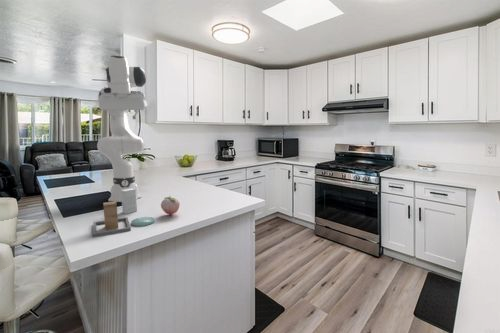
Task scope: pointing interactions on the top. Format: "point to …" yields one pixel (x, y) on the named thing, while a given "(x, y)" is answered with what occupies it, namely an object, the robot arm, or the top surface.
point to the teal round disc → (142, 221)
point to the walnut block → (110, 215)
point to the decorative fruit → (170, 205)
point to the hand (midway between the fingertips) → (124, 119)
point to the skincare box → (128, 200)
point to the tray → (111, 230)
